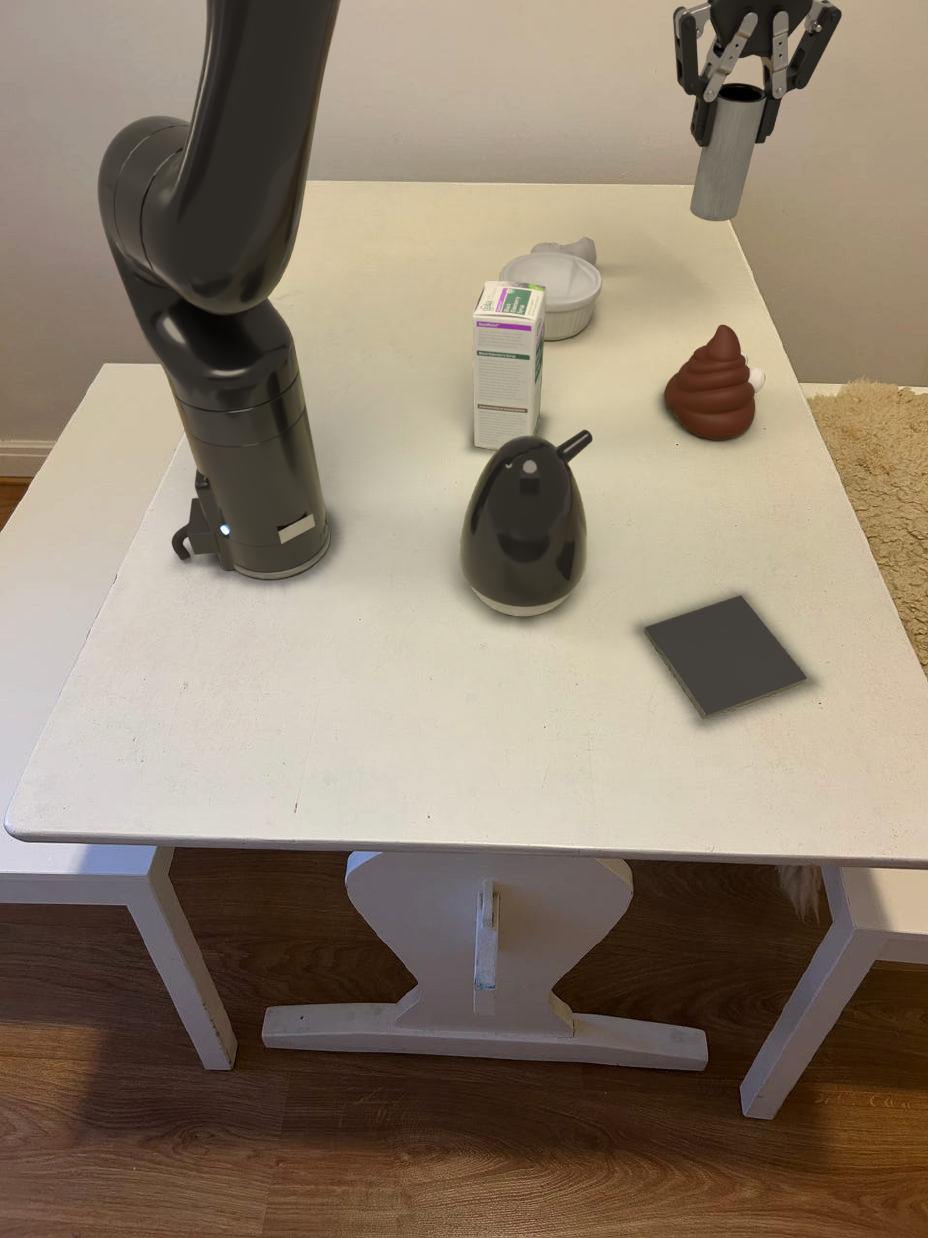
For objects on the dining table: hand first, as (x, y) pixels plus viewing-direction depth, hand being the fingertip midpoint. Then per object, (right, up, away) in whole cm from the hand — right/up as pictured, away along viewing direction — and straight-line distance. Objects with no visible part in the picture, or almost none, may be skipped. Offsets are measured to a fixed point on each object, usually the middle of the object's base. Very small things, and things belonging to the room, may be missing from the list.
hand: (728, 140), depth 76 cm
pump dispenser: (-19, -41, -6) cm, 46 cm away
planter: (0, -4, +5) cm, 7 cm away
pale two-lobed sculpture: (-12, -2, +26) cm, 29 cm away
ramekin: (-15, -9, +20) cm, 26 cm away
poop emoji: (+1, -23, +9) cm, 24 cm away
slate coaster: (-4, -46, -11) cm, 48 cm away
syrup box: (-20, -25, +7) cm, 33 cm away
